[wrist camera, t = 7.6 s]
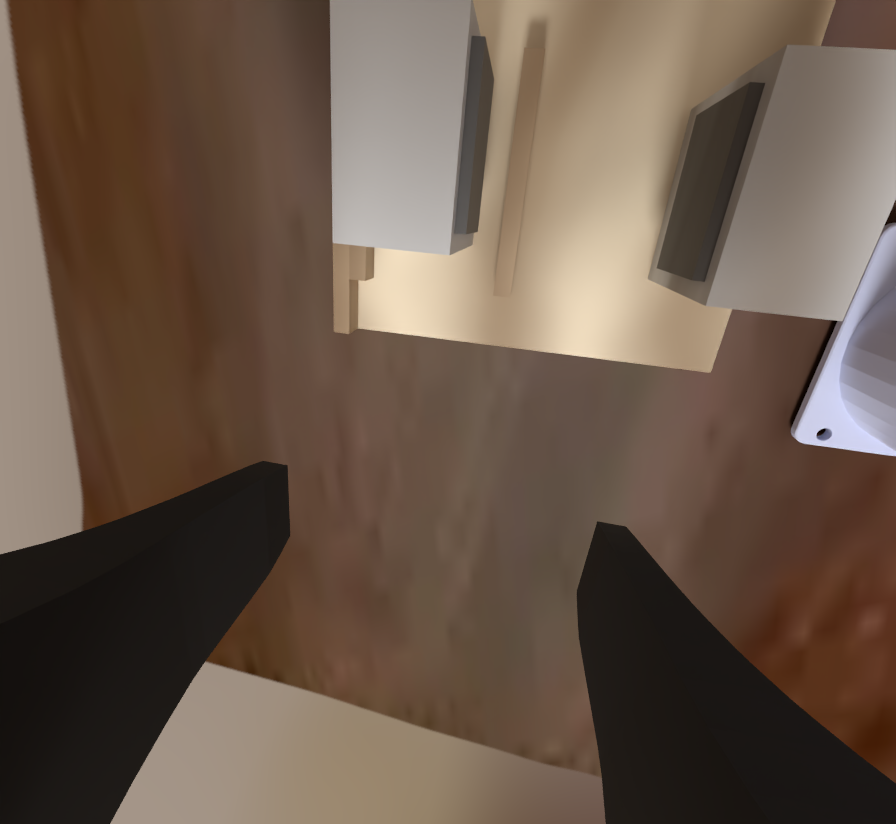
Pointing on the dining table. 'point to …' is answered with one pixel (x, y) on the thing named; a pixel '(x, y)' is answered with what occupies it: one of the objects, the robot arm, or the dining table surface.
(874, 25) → the dining table surface
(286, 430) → the dining table surface
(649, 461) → the dining table surface
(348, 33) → the white rectangular box
